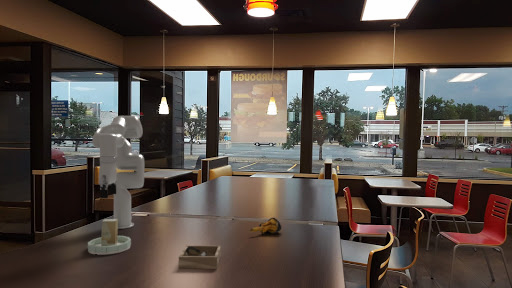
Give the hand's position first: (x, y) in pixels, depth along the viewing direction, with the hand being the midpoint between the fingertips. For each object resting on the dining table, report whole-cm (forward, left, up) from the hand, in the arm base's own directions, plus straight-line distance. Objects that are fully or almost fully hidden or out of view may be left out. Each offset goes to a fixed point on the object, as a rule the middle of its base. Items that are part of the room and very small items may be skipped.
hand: (108, 195), depth 164 cm
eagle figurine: (+22, +45, -24) cm, 56 cm away
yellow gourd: (-22, +75, -24) cm, 82 cm away
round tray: (+4, +2, -24) cm, 24 cm away
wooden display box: (+21, +47, -24) cm, 57 cm away
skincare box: (+4, +2, -23) cm, 23 cm away
